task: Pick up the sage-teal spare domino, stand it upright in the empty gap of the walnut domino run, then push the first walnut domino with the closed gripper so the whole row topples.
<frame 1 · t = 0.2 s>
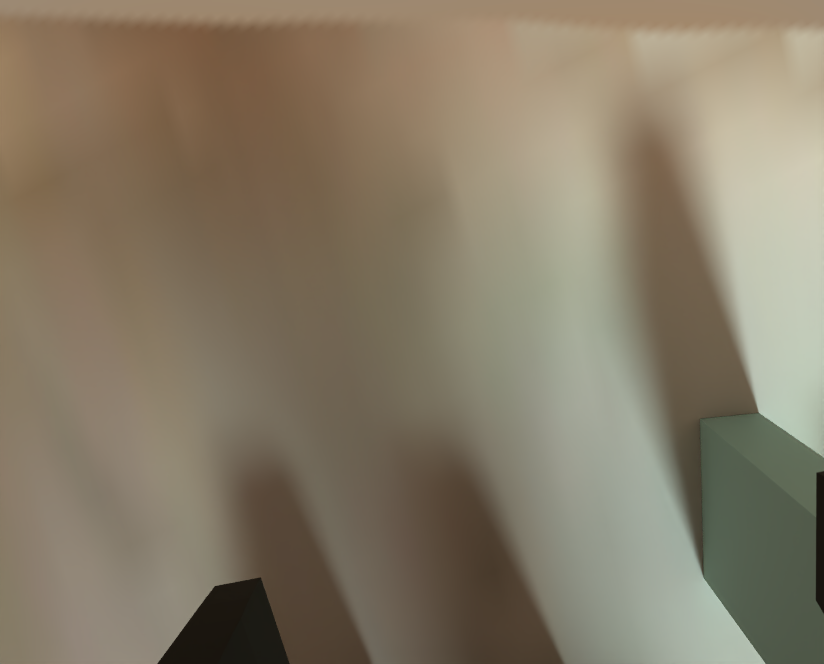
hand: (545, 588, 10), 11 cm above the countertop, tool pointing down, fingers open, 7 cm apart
spare domino: (730, 497, 21), on the countertop
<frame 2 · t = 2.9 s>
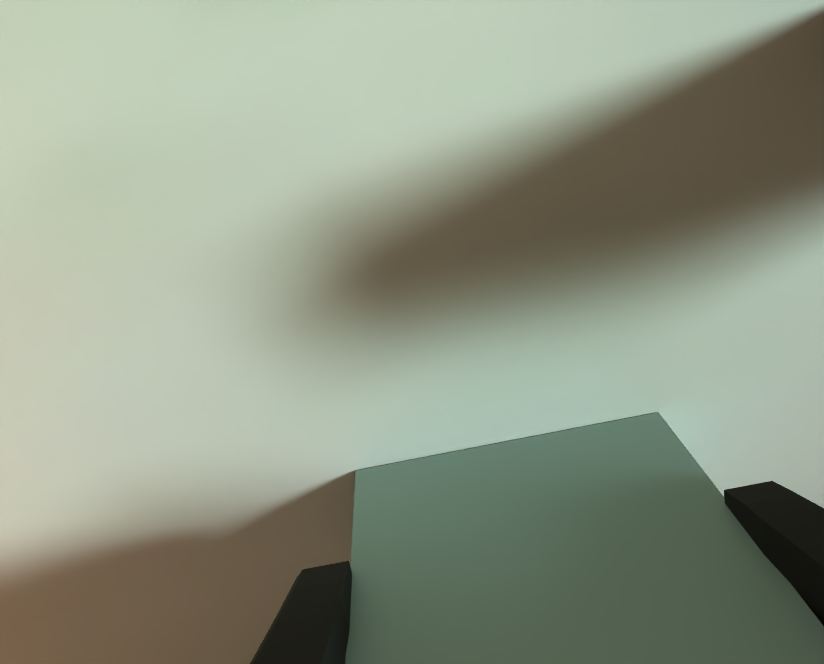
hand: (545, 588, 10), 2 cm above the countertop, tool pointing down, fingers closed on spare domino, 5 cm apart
spare domino: (513, 484, 12), on the countertop, touching gripper
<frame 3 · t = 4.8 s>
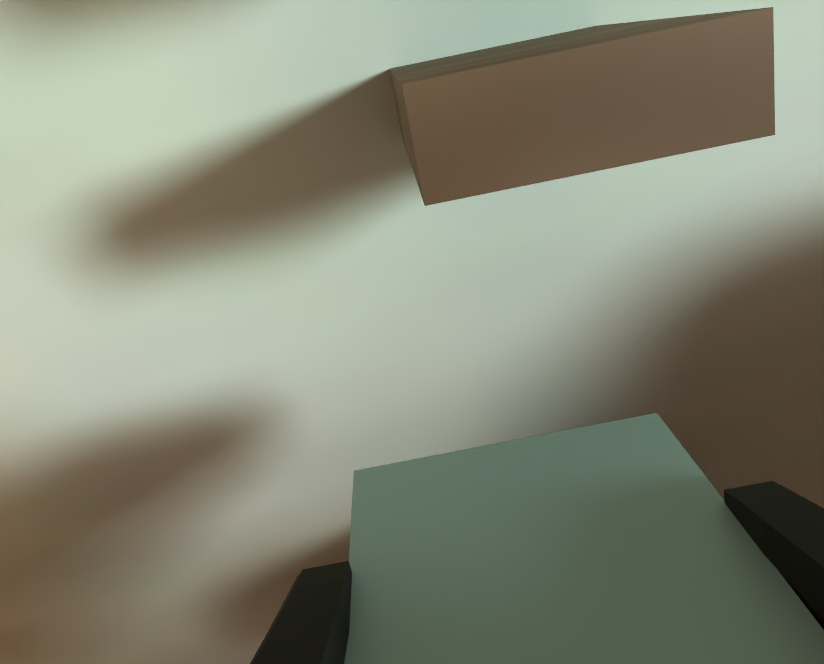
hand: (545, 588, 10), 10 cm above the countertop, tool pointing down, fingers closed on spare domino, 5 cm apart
spare domino: (511, 485, 12), point 8 cm above the countertop, touching gripper
domino 4: (497, 83, 17), on the countertop
when the fingers open (3 cm above the countertop, at t = 7.2 s): spare domino drops 1 cm, on the countertop.
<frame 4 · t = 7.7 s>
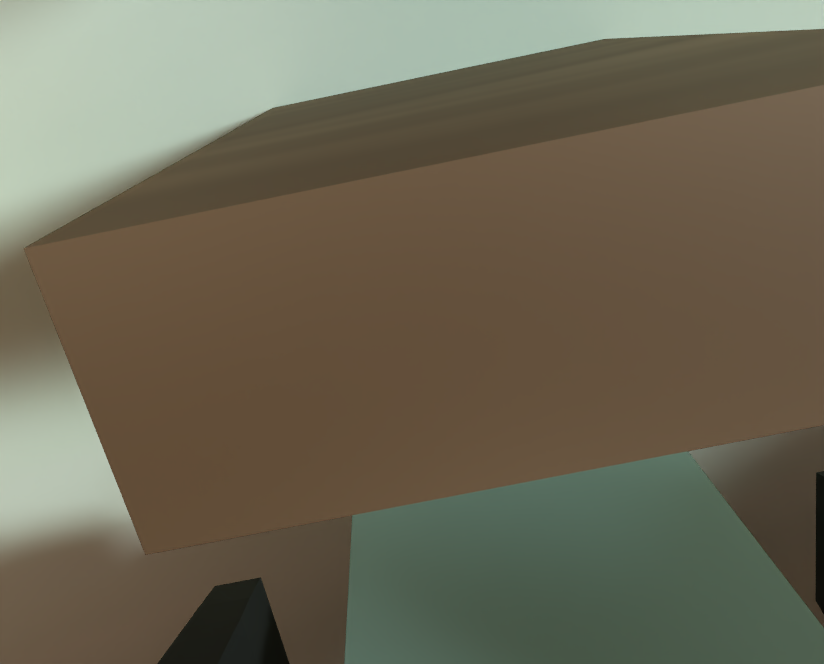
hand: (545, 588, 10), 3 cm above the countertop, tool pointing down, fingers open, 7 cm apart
spare domino: (502, 452, 13), on the countertop
domino 4: (447, 130, 11), on the countertop
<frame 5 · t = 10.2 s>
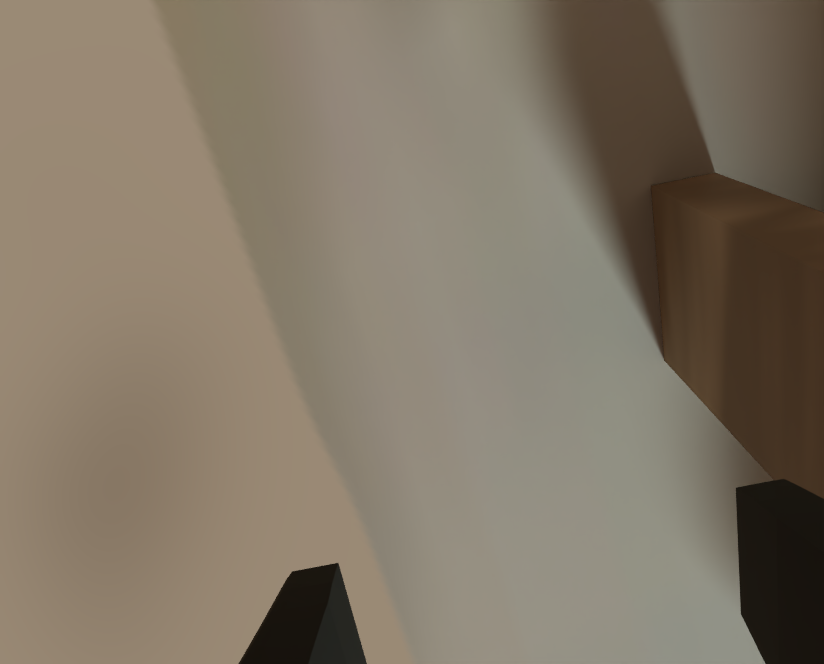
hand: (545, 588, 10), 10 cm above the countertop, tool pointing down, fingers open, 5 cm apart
domino 1: (688, 270, 19), on the countertop
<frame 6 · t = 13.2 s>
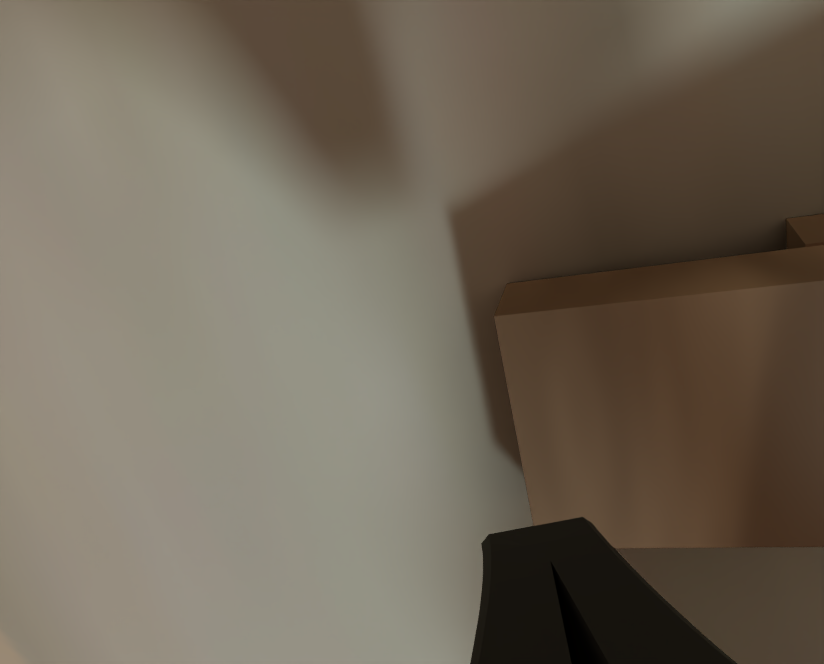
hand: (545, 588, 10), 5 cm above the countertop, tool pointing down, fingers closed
domino 1: (522, 417, 14), point 1 cm above the countertop, tilted 73°, touching domino 2
domino 2: (797, 355, 14), point 1 cm above the countertop, tilted 73°, touching domino 1, spare domino
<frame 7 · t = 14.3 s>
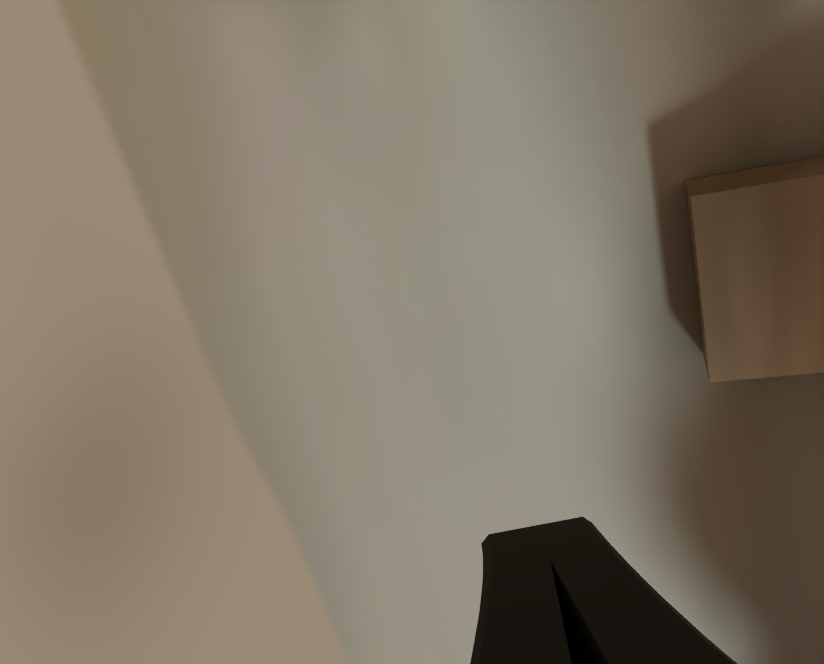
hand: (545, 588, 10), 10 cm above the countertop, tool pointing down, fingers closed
domino 1: (697, 282, 18), point 1 cm above the countertop, tilted 73°, touching domino 2
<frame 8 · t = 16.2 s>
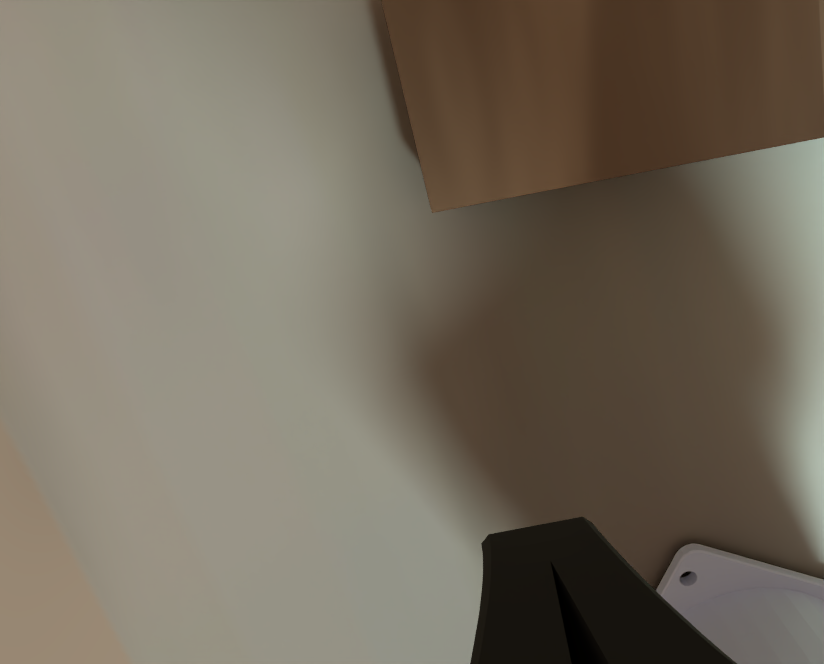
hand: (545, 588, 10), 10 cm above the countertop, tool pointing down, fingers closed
domino 1: (415, 101, 17), point 1 cm above the countertop, tilted 74°, touching domino 2
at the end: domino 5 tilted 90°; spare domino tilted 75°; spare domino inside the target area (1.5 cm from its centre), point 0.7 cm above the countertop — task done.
